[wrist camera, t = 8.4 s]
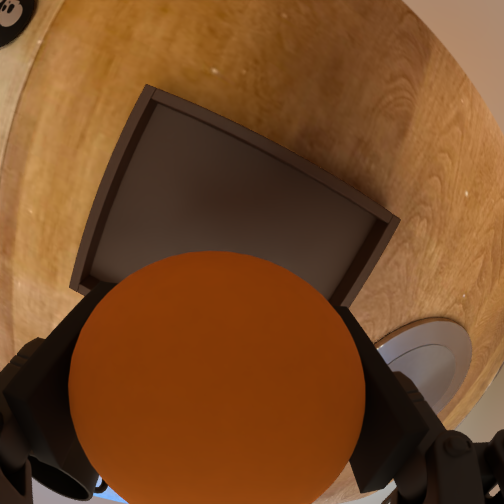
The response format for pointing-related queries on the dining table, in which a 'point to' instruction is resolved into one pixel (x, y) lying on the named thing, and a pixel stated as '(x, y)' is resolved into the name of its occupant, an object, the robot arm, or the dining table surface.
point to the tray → (224, 203)
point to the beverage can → (13, 18)
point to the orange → (216, 384)
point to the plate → (430, 357)
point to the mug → (69, 475)
